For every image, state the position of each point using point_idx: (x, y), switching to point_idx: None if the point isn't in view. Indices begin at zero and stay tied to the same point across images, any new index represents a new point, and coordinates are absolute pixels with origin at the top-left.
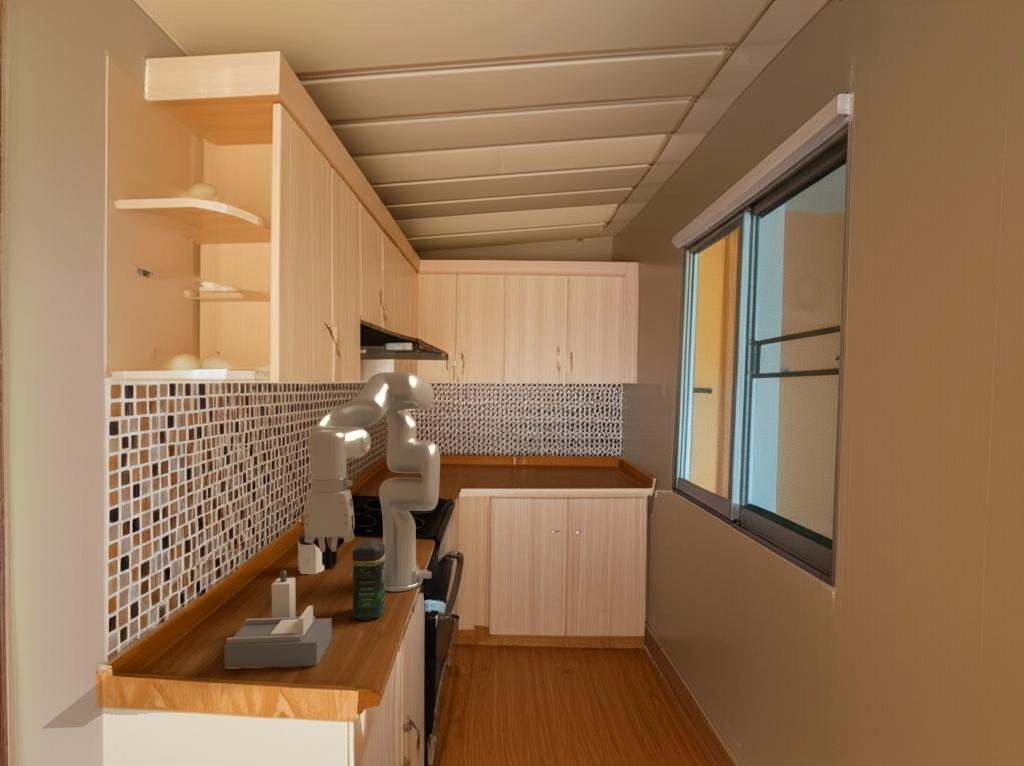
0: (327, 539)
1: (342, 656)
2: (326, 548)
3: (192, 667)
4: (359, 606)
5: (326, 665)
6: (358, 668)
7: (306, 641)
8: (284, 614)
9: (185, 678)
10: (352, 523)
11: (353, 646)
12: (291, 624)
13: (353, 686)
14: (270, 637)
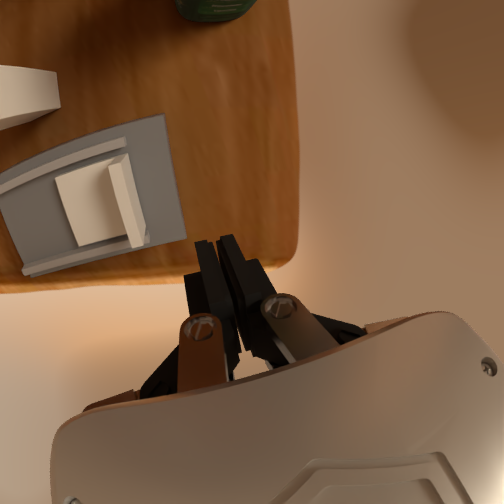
0: (226, 369)
1: (217, 178)
2: (234, 364)
3: (2, 255)
4: (203, 13)
5: (200, 212)
6: (260, 214)
7: (163, 238)
8: (32, 115)
9: (19, 280)
10: (485, 346)
11: (225, 137)
12: (92, 196)
13: (267, 259)
14: (89, 257)
